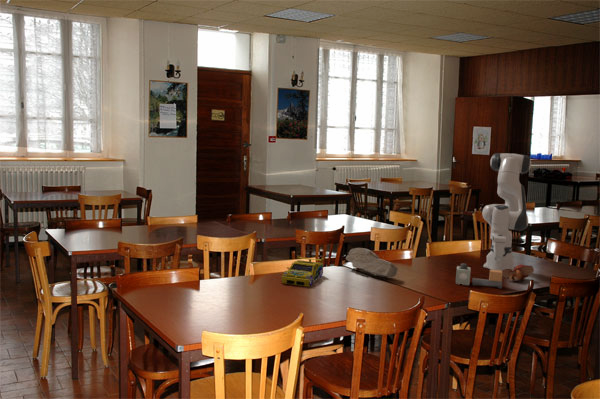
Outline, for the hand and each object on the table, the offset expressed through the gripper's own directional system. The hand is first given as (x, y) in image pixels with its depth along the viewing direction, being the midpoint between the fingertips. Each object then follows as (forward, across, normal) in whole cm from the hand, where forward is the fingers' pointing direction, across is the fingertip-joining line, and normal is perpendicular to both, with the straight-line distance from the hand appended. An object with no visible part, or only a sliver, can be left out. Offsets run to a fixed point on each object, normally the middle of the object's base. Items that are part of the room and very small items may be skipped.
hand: (497, 262), depth 309 cm
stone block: (+13, +1, -67) cm, 68 cm away
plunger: (+8, -1, -17) cm, 18 cm away
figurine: (+13, -20, +12) cm, 27 cm away
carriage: (+12, -1, 0) cm, 12 cm away
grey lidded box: (+13, -1, -17) cm, 21 cm away
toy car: (+14, +28, -98) cm, 103 cm away
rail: (+13, -1, -4) cm, 14 cm away
